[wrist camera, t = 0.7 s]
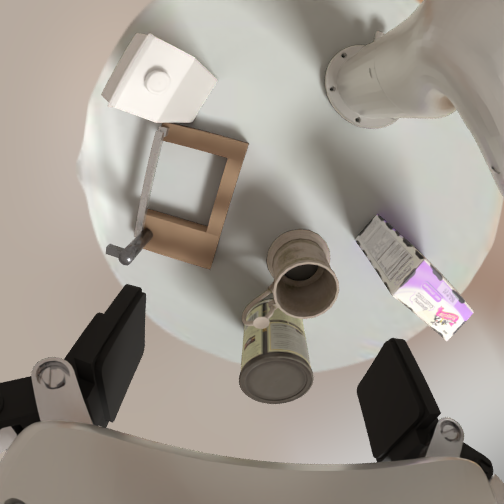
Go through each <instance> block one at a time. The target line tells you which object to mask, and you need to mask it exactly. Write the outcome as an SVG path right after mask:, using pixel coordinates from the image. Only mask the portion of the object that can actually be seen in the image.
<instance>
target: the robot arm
mask: <svg viewBox="0 0 504 504" xmlns="http://www.w3.org/2000/svg"><path fill="white" fill-rule="evenodd" d="M341 55H343V56H344V58H342V57H341ZM330 88H332V89H333V91H330ZM325 89H326V93H327V96H328V98H329V100H330V103H331V104H332V106H333V107H334V109H335V110H336V111H337V112H338V113H339V114H340V115H341V116H342V117H343V118H344V119H345V120H347V121H348V122H350V123H352V124H354V125H356V126H359V127H363V128H369V129H378V128H383V127H386V126H389V125H391V124H393V123H394V122H396V121H397V120H398V119H399V118H418V119H436V118H442V117H446V116H448V115H450V114H452V113H453V112H455V111H456V110H457V111H458V113H459V114H460V116H461V118H462V119H463V121H464V123H465V124H466V126H467V128H468V129H469V130H470V132H471V133H472V135H473V137H474V139H475V141H476V143H477V145H478V147H479V149H480V151H481V153H482V155H483V157H484V159H485V161H486V163H487V165H488V167H489V169H490V171H491V174H492V176H493V178H494V180H495V183H496V185H497V187H498V189H499V191H500V193H501V194H502V196H503V198H504V0H424V1H423V2H422V3H421V4H420V5H419V6H418V8H417V9H416V10H415V11H414V12H413V13H412V14H411V15H410V16H409V17H408V18H407V19H406V20H405V21H403V22H402V23H400V24H399V25H398V26H396V27H395V28H393V29H392V30H390V31H389V32H387V33H386V34H384V33H382V32H380V31H376V33H375V36H374V41H373V42H372V43H369V44H368V45H354V46H350V47H347V48H345V49H343V50H341V51H340V52H339V53H337V54H336V55H335V56H334V57H333V58H332V60H331V61H330V63H329V65H328V67H327V70H326V73H325ZM356 118H357V119H358V121H357V122H356V121H355V119H356ZM145 308H146V293H143V292H142V289H141V288H140V287H136V286H132V285H129V284H126V285H125V286H124V287H123V289H122V290H121V291H120V293H119V294H118V296H117V297H116V298H115V299H114V301H113V302H112V304H111V305H110V306H109V308H108V309H107V310H106V312H105V313H104V314H103V313H97V314H96V315H95V316H94V318H93V319H92V321H91V322H90V323H89V325H88V326H87V328H86V329H85V330H84V332H83V333H82V334H81V336H80V337H79V339H78V340H77V341H76V343H75V344H74V346H73V347H72V349H71V350H70V352H69V353H68V354H67V356H66V357H65V359H62V358H56V357H48V358H45V359H42V360H41V361H39V362H37V364H36V365H35V366H34V367H33V370H32V376H30V377H26V378H21V379H17V380H12V381H7V382H3V383H0V453H2V452H3V451H5V450H7V451H6V453H5V455H4V456H3V458H2V460H1V462H0V504H504V483H503V482H502V481H501V480H500V479H499V478H498V476H497V475H493V466H492V463H491V461H490V460H489V459H488V458H486V457H485V456H484V455H482V454H481V453H479V452H478V451H476V450H475V449H473V448H471V447H470V446H468V445H467V444H465V443H464V442H463V440H464V432H463V429H462V427H461V426H460V424H459V423H458V422H456V421H455V420H454V419H451V418H448V417H447V418H446V417H445V418H441V419H440V420H438V418H437V417H438V416H439V415H440V414H441V412H440V410H439V408H438V406H437V404H436V401H435V399H434V397H433V395H432V393H431V391H430V388H429V387H428V384H427V382H426V380H425V378H424V376H423V374H422V372H421V370H420V368H419V366H418V364H417V362H416V360H415V358H414V356H413V355H412V353H411V351H410V349H409V347H408V345H407V343H406V341H405V340H403V339H396V338H391V339H389V341H386V342H385V343H384V345H383V347H382V348H381V350H380V352H379V353H378V355H377V357H376V358H375V360H374V361H373V363H372V365H371V366H370V368H369V369H368V371H367V373H366V374H365V376H364V377H363V379H362V380H361V382H360V383H359V385H358V387H357V395H358V398H359V402H360V406H361V410H362V413H363V417H364V421H365V425H366V429H367V433H368V437H369V441H370V445H371V449H372V453H373V456H374V458H376V460H377V463H362V464H294V463H278V462H267V461H257V460H249V459H240V458H233V457H227V456H220V455H214V454H209V453H203V452H199V451H194V450H188V449H184V448H180V447H175V446H171V445H167V444H162V443H159V442H155V441H151V440H147V439H144V438H140V437H137V436H133V435H129V434H126V433H122V432H119V431H115V430H112V429H108V428H106V427H107V425H108V422H109V421H110V422H113V421H114V420H115V418H116V415H117V413H118V411H119V408H120V406H121V403H122V401H123V399H124V396H125V394H126V392H127V389H128V387H129V385H130V382H131V380H132V378H133V376H134V373H135V371H136V369H137V366H138V364H139V362H140V360H141V358H142V355H143V352H144V346H145ZM98 425H99V426H98ZM100 426H101V427H100ZM492 475H493V476H492Z"/></svg>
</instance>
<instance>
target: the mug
mask: <svg viewBox="0 0 504 504" xmlns="http://www.w3.org/2000/svg"><path fill="white" fill-rule="evenodd" d="M329 263H330V251H329V248H328V246H327V244H326V242H325V241H324V240H323V239H322V238H321V237H320V236H319V235H318V234H316V233H314V232H312V231H309V230H302V229H298V230H292V231H288V232H286V233H284V234H282V235H280V236H279V237H278V238H277V239H276V240H275V241H274V242H273V243H272V245H271V247H270V249H269V250H268V255H267V265H268V270H269V271H270V273H271V275H272V276H273V278H274V282H273V283H272V284H271V285H270V286H269V287H268V290H266V291H265V292H264V293H263V294H261V295H260V296H258V297H257V298H256V299H254V300H253V301H252V302H251V303H249V304H248V305H247V307H246V308H245V309H244V311H243V314H242V322H243V324H245V325H247V326H255V327H256V328H258V329H264V328H266V327H268V326H269V323H270V322H269V318H270V317H271V316H272V315H273V313H274V310H276V309H277V308H279V309H280V310H281V311H283V312H284V313H285V314H286V315H289V316H291V317H294V318H300V319H308V318H313V317H316V316H319V315H321V314H323V313H325V312H326V311H327V310H328V309H330V308H331V307H332V305H333V304H334V302H335V301H336V299H337V296H338V293H339V282H338V279H337V277H336V275H335V273H334V271H333V270H332V269H331V267H330V265H329ZM305 264H313V265H319V266H318V269H317V271H316V273H315V274H314V275H313V276H312V277H311V278H309V279H306V280H303V281H294V280H291V279H289V278H288V277H286V276H285V275H284V274H285V273H286V272H287V271H288V270H290V269H292V268H294V267H296V266H299V265H305ZM272 292H273V295H274V300H272V301H270V302H268V307H269V308H270V311H269V312H268V313H267V314H266V315H265V316H263V317H257V318H255V320H254V321H246V316H247V313H248V312H249V310H250V309H251V308H252V307H253V306H254V305H256V304H257V303H258V302H260V301H261V300H262V299H264V298H265V297H267V296H268V295H269V294H270V293H272Z"/></svg>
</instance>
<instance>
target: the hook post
mask: <svg viewBox="0 0 504 504" xmlns="http://www.w3.org/2000/svg"><path fill="white" fill-rule="evenodd" d="M152 237H153V233H152V231H151V230H149V229H144V231H143V232H142V233H141V234H139V235H138V236H137V237H136V238H135V239H134V240H133V241H132V242H131V243H130V244H129V245H128V246H127V247H126V248H125V249H124V248H121V247H118V246H115V245H112V244H109V245H108V246H107V247H106V254H108V255H111V256H114V257H117V258H119V261H120V262H121V263H122V264H123V265H129V264H130V263H131V262H132V261H133V260H134V258H135V257H136V256H137V255H138V254H139V253H140V251H141V250H142V249H143V248H144V247H145V246H146V245H147V243H148V242H149V241H150V240H151V239H152Z"/></svg>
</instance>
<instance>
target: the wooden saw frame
mask: <svg viewBox="0 0 504 504" xmlns="http://www.w3.org/2000/svg"><path fill="white" fill-rule="evenodd" d="M161 126H163V127H167V128H169V131H168V135H167V137H164V139H163V141H166V142H170V143H174V144H178V145H182V146H186V147H190V148H194V149H197V150H201V151H205V152H208V153H212V154H215V155H219V156H222V157H226V158H228V159H227V162H226V166H225V169H224V172H223V176H222V179H221V182H220V186H219V189H218V192H217V196H216V199H215V203H214V206H213V210H212V213H211V217H210V220H209V224H208V226H204V225H201V224H198V223H194V222H191V221H188V220H184V219H181V218H178V217H174V216H171V215H168V214H164V213H161V212H158V211H154V210H151V209H147V215H146V220H145V225H144V229H149V230H151V231H152V233H153V237H152V239H151V240H150V241H149V242H148V243H147V245H146V246H145V247H144V248H143V249H146V250H149V251H152V252H155V253H158V254H161V255H164V256H168V257H171V258H174V259H177V260H180V261H184V262H187V263H190V264H193V265H197V266H200V267H203V268H206V269H210V268H211V266H212V263H213V259H214V256H215V252H216V249H217V245H218V242H219V239H220V235H221V232H222V228H223V225H224V222H225V218H226V215H227V212H228V208H229V205H230V202H231V199H232V195H233V192H234V189H235V186H236V182H237V179H238V176H239V173H240V170H241V167H242V163H243V160H244V157H245V154H246V151H247V148H248V145H249V143H245V142H242V141H239V140H235V139H232V138H228V137H225V136H221V135H218V134H214V133H210V132H207V131H203V130H199V129H195V128H191V127H187V126H183V125H179V124H175V123H162V125H161Z"/></svg>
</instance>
